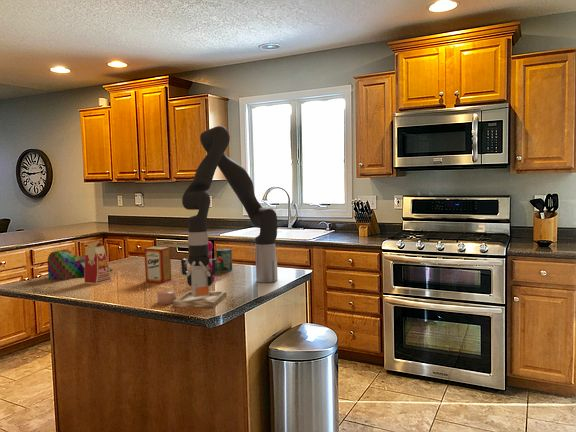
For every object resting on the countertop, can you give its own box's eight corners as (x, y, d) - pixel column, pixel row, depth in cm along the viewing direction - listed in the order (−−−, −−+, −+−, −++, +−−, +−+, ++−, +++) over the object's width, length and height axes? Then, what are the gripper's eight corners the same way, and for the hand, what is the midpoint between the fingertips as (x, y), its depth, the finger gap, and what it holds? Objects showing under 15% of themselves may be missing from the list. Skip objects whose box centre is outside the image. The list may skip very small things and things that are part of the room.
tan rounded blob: (178, 300, 192) (178, 290, 192) (171, 304, 185) (171, 294, 185) (162, 299, 193) (161, 289, 193) (154, 304, 186) (154, 294, 186)
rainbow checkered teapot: (73, 281, 233) (72, 252, 232) (48, 279, 240) (46, 250, 238) (112, 271, 255) (110, 244, 254) (88, 269, 262) (86, 243, 261)
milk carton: (111, 280, 231) (109, 239, 229) (96, 285, 223) (94, 241, 221) (97, 279, 235) (95, 238, 233) (82, 283, 227) (79, 241, 225)
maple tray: (226, 296, 195) (226, 291, 195) (213, 307, 179) (213, 302, 179) (188, 295, 198) (188, 290, 198) (172, 306, 182) (172, 301, 182)
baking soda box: (171, 280, 229) (169, 246, 228) (163, 283, 223) (161, 248, 222) (154, 279, 233) (152, 245, 231) (146, 282, 226) (144, 247, 225)
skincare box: (194, 297, 185) (193, 266, 184) (191, 295, 189) (190, 265, 188) (210, 295, 188) (208, 265, 187) (206, 293, 192) (205, 263, 191)
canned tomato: (235, 269, 250) (234, 248, 249) (225, 272, 244) (224, 250, 243) (223, 268, 255) (222, 247, 254) (213, 271, 248) (212, 249, 247)
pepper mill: (212, 282, 222) (210, 238, 221) (197, 281, 224) (195, 238, 222) (217, 278, 230) (216, 236, 228) (203, 278, 231) (201, 236, 229)
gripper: (219, 241, 189) (220, 283, 191) (184, 241, 192) (186, 283, 193) (212, 244, 182) (214, 288, 183) (176, 244, 184) (178, 287, 186)
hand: (200, 285), depth 188 cm, fingers closed on skincare box, 7 cm apart
